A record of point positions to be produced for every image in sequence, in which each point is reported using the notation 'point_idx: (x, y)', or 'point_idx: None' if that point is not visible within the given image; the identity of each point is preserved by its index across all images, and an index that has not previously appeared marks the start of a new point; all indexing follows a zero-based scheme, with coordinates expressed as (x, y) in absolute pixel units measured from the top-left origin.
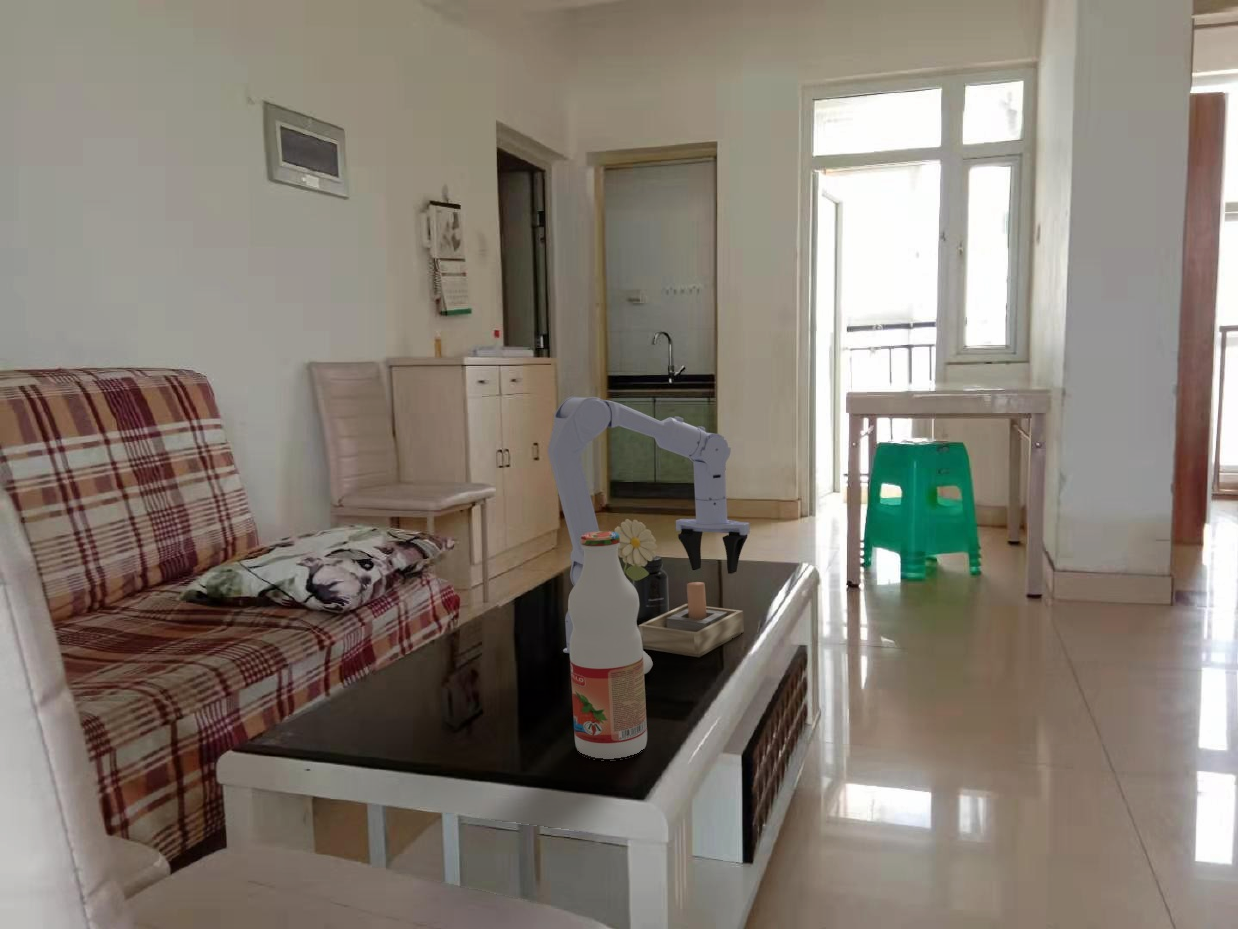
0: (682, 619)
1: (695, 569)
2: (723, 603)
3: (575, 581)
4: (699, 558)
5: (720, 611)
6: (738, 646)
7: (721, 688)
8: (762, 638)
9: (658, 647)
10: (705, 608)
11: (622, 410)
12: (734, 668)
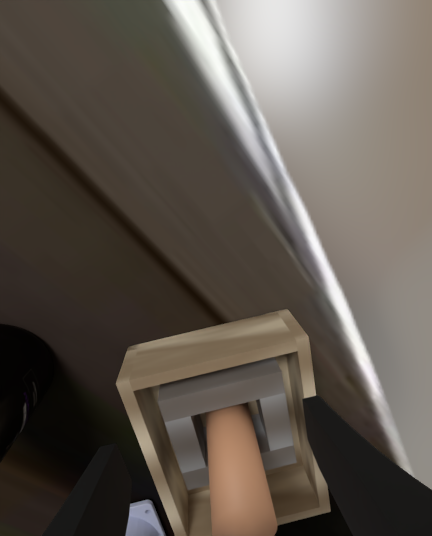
0: None
1: (130, 481)
2: (16, 99)
3: None
4: (99, 498)
5: (259, 378)
6: (334, 382)
7: None
8: (348, 314)
9: None
10: (256, 440)
11: None
12: (392, 459)
